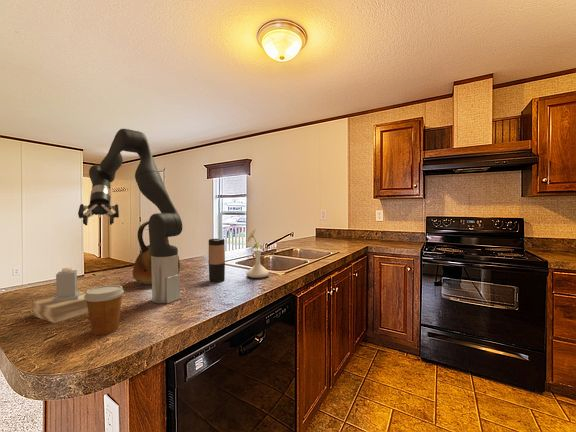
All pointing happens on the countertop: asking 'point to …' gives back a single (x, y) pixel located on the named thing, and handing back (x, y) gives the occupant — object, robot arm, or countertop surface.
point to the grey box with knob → (66, 285)
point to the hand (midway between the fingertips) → (98, 223)
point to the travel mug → (216, 260)
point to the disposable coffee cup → (104, 308)
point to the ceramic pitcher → (145, 260)
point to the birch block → (59, 308)
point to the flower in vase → (257, 269)
